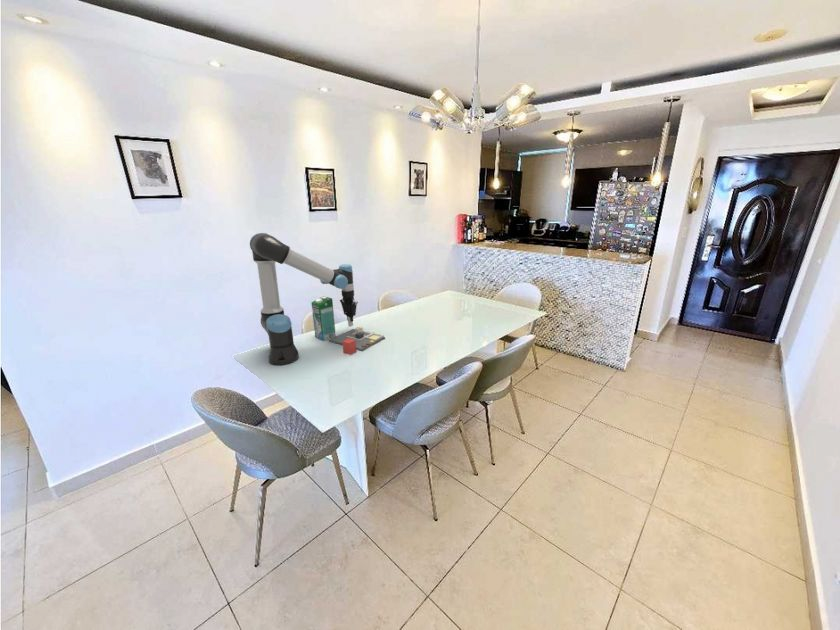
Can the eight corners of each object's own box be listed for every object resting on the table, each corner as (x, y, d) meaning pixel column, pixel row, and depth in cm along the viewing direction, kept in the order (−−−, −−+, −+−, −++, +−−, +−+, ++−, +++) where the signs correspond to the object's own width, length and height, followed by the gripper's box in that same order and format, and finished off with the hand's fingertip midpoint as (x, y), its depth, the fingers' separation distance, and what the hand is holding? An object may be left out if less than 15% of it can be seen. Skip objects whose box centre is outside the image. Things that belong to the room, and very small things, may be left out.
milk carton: (315, 337, 210) (310, 298, 202) (327, 333, 217) (324, 295, 208) (323, 341, 204) (318, 301, 196) (335, 336, 211) (332, 298, 203)
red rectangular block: (343, 352, 189) (342, 341, 187) (349, 349, 193) (348, 338, 191) (350, 354, 187) (349, 343, 184) (356, 351, 191) (355, 340, 188)
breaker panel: (329, 341, 204) (328, 334, 203) (353, 330, 221) (352, 323, 219) (361, 351, 191) (361, 343, 189) (385, 338, 208) (384, 331, 206)
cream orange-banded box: (355, 333, 211) (354, 328, 210) (359, 331, 215) (359, 326, 213) (358, 334, 210) (358, 329, 209) (362, 332, 213) (362, 327, 212)
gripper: (335, 289, 207) (339, 325, 215) (351, 292, 201) (354, 329, 209) (344, 287, 213) (347, 322, 221) (359, 289, 207) (362, 325, 215)
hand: (350, 325), depth 215 cm, fingers closed
